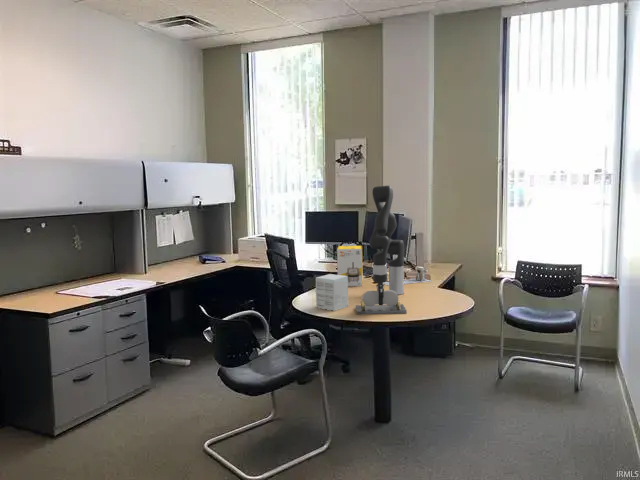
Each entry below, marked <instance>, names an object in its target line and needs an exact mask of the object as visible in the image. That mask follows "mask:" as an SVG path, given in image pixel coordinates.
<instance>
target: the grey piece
mask: <svg viewBox="0 0 640 480" xmlns="http://www.w3.org/2000/svg"><path fill="white" fill-rule="evenodd" d="M378 292H379V291H378ZM361 296H362V298H361V299H362V301H365V305H366V306H373V305H379V298H378V293H377V290H367V291H365V292H364V293H363V295H361ZM380 296H382V295H380ZM399 298H400V297H399V295H397V293H396V292H394V291H393V290H389V289H387V290H384V297H383V305H389V306H393V305H395V304H396V303H397V300H398V299H399ZM399 300H400V299H399Z"/></svg>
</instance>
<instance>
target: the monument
mask: <svg viewBox="0 0 640 480" xmlns="http://www.w3.org/2000/svg"><path fill="white" fill-rule="evenodd" d="M414 269H415V278H409V279H408V278H407V279H404V285H411V284H420V283H429V282H432V280H430V279H427V278H426V274H425V273H426V267H425V266H424V267H423V266H415V267H414ZM383 284H384V286H387V287H389V281H387V282H383Z"/></svg>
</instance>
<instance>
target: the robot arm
mask: <svg viewBox="0 0 640 480" xmlns="http://www.w3.org/2000/svg"><path fill="white" fill-rule="evenodd" d="M372 198H373V202H374V205H375V207H376V211H377V215H376V217H375V220H374V227H373V231H372V234H371V236H370V238H369V246H370V248H371V249H373V250H382V251H381V252H378V253H374V254H373V256H372V257H373V258H372V259H373V261H372V263H373V265H372V267H373V268H372V281H373V282H374V283H376V284H375V285H376V291H377V293H378V298H379V304H378V305H384V304H383V297H384V291H385V285H384V284H383V282H389V286H388V290H393V291H394V292H396V293H397V295H398V296H399V295H403V294H405V284H404V280H405V267H404V265H405V264H404V263H405V241H404V240H402V239H392V235H393V234H394V232H395V231H396V228H397V226H398V224H397V219H396V215H395V214H394V213H393V211H391V209H392V204H393V199H394V190H393V187H392V186H391V185H379V186H374V187H373V188H372ZM387 255H391V256H392V255H393V256H397V257H396V258H394V259H391V260H389V261H388V265H387ZM387 266H388V267H387ZM378 291H379V292H378ZM380 295H382V296H380Z"/></svg>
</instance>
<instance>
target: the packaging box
mask: <svg viewBox="0 0 640 480" xmlns="http://www.w3.org/2000/svg"><path fill="white" fill-rule="evenodd" d="M336 260H337V261H336V262H337V263H336V264H337V266H336V267H337V275H343V276H348V287H363V281H364V280H363V279H364V278H363V277H364V275H363V273H364V272H363V245H338V247H337V249H336Z"/></svg>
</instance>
